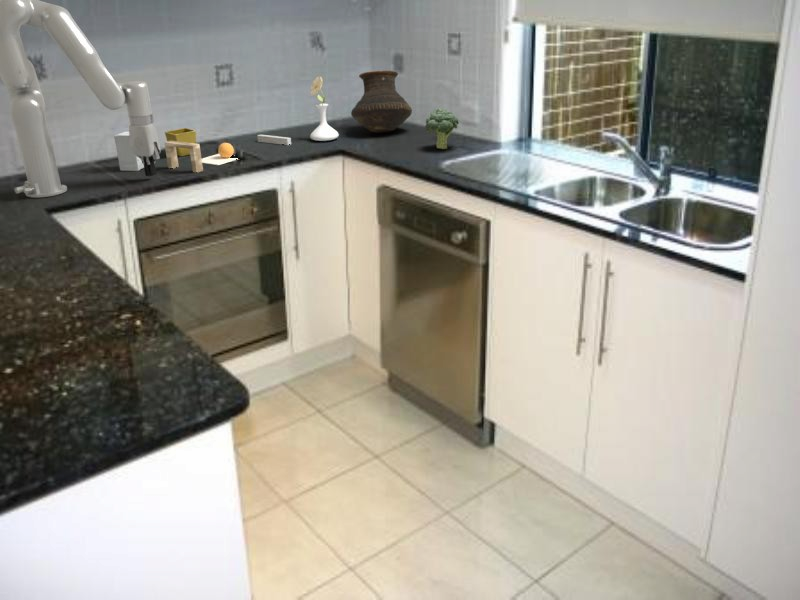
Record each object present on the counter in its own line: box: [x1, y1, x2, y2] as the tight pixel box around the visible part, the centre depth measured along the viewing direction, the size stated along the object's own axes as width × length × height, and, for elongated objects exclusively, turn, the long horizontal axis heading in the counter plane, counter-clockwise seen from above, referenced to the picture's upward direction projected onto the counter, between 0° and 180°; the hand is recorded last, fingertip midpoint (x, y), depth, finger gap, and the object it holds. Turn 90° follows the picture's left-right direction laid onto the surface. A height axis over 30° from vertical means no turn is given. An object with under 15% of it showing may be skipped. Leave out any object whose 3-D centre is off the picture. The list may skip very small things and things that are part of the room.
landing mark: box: [201, 153, 239, 166], centre depth 287 cm, size 13×13×1 cm
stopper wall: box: [256, 134, 292, 146], centre depth 309 cm, size 2×16×2 cm, turn 56°
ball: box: [217, 142, 235, 158], centre depth 288 cm, size 6×6×6 cm
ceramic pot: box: [350, 70, 413, 134], centre depth 314 cm, size 24×24×22 cm
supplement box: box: [113, 131, 144, 172], centre depth 277 cm, size 7×7×13 cm
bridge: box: [163, 140, 204, 173], centre depth 273 cm, size 3×15×9 cm, turn 56°
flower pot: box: [164, 127, 197, 157], centre depth 295 cm, size 9×9×9 cm
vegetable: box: [425, 107, 460, 150], centre depth 285 cm, size 12×13×15 cm
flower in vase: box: [309, 76, 340, 142], centre depth 305 cm, size 13×11×25 cm
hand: (150, 175), depth 263 cm, fingers closed
